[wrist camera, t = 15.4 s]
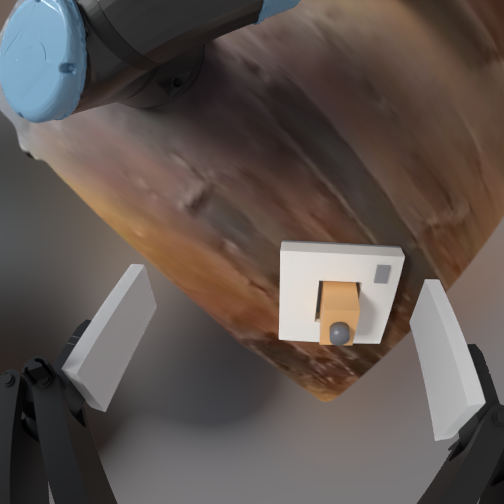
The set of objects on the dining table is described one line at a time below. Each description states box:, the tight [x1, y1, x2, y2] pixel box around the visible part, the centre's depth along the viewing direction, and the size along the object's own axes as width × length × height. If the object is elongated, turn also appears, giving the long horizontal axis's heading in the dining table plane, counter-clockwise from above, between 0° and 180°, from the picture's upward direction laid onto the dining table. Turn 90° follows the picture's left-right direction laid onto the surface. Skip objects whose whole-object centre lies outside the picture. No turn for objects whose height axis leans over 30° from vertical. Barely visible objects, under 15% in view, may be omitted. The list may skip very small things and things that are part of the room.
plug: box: [319, 281, 360, 346], centre depth 45 cm, size 5×7×10 cm
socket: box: [279, 240, 405, 344], centre depth 48 cm, size 18×18×3 cm
